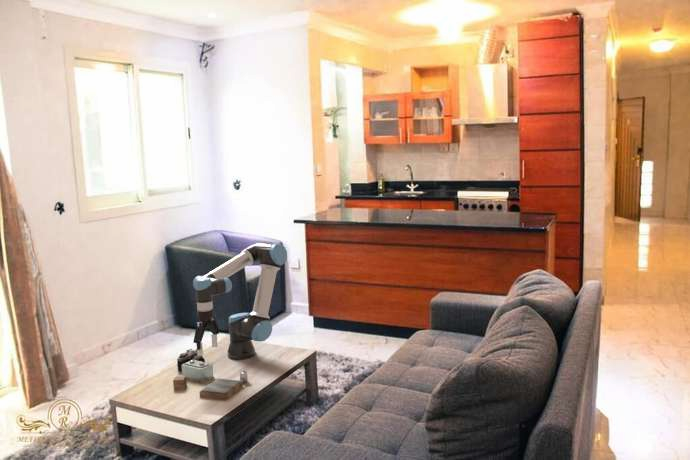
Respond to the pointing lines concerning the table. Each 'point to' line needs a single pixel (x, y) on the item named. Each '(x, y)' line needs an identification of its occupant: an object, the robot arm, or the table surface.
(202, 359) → the camera
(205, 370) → the housing
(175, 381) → the walnut block
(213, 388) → the grey brown flat block
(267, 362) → the table surface
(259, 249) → the robot arm
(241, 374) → the steel cup
